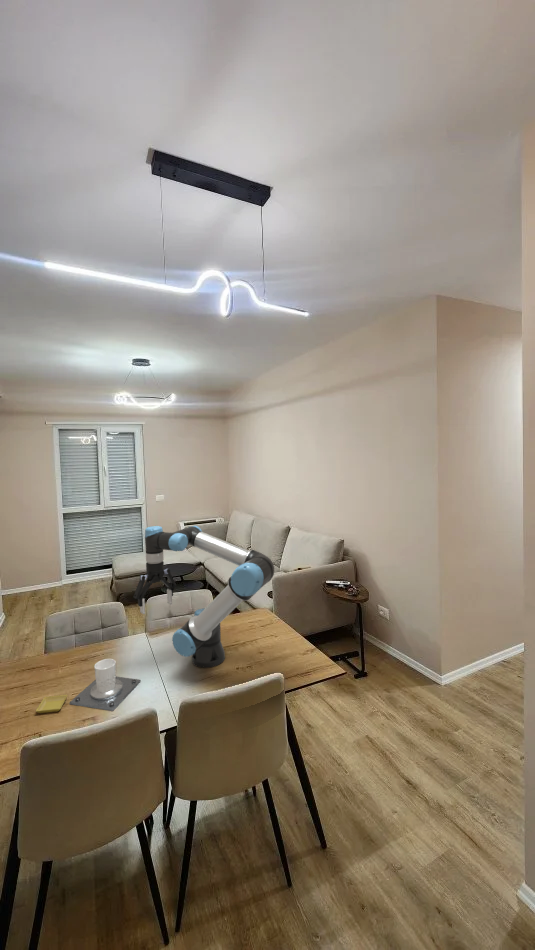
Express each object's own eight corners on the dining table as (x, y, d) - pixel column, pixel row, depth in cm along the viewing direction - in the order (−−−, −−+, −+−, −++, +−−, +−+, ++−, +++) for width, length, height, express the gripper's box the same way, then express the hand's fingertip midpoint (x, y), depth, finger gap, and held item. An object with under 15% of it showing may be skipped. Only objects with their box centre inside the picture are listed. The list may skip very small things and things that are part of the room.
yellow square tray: (68, 699, 155) (68, 694, 155) (60, 713, 146) (60, 708, 146) (44, 701, 153) (44, 696, 153) (35, 716, 145) (35, 711, 145)
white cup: (120, 687, 158) (119, 663, 157) (101, 696, 152) (100, 671, 152) (110, 679, 163) (109, 656, 163) (92, 688, 157) (90, 664, 157)
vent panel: (140, 681, 165) (140, 676, 165) (113, 711, 147) (112, 705, 147) (101, 676, 169) (100, 671, 169) (69, 704, 151) (69, 699, 151)
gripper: (174, 554, 185) (175, 597, 187) (124, 566, 167) (126, 614, 169) (183, 556, 180) (184, 602, 182) (132, 569, 162) (134, 619, 163)
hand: (156, 608), depth 175 cm, fingers open, 13 cm apart
